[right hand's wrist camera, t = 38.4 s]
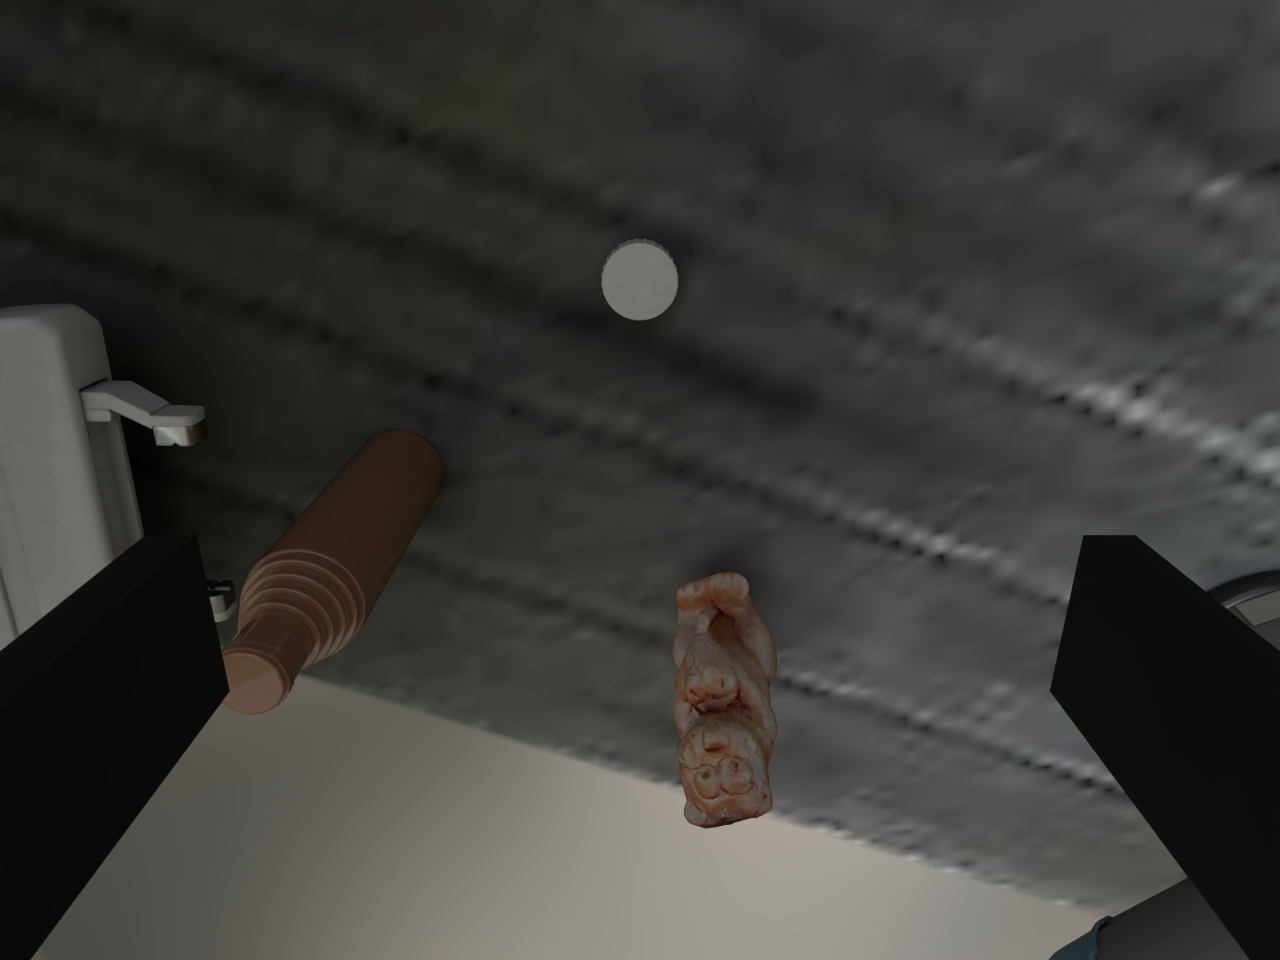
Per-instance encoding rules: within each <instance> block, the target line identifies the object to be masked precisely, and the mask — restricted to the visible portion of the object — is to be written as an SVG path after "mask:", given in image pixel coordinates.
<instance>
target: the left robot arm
mask: <svg viewBox="0 0 1280 960" xmlns="http://www.w3.org/2000/svg"><path fill="white" fill-rule="evenodd" d="M121 415H123V416H125V417H127V418H129V419H132V420H134V421H136V422H138V423H140V424H142V425H144V426H146V427H149V428H151V429H153V432H154V436H155V441H156V445H160V446H171V445H173V444H174V443H176V444H178V445H179V446H192V445H196V444H198V443H200V442H201V441H202V439H206V438H207V437H208V430H207V423H206V416H205V410H204V407H202V406H190V405H170V403H169V402H168V401H166V400H164V399H162V398H161V397H159V396H157V395H155V394H154V393H152V392H150V391H148V390H147V389H145V388H143V387H141V386H140V385H138V384H136V383H134V382H132V381H113V380H112V375H111V371H110V366H109V361H108V356H107V351H106V346H105V341H104V336H103V331H102V327H101V324H100V322H99V321H98V320H97V319H96V318H95V317H93V316H92V315H90V314H89V313H88V312H86V311H85V310H83V309H81V308H80V307H78V306H77V305H74V304H36V305H24V306H14V307H7V308H1V309H0V651H1V650H2V649H3V648H5V647H6V646H7V645H8V644H10V643H11V642H12V641H13V640H15V639H16V638H17V637H18V636H20V635H21V634H22V633H23V632H25V631H26V630H27V629H28V628H30V627H31V626H32V625H33V624H35V623H36V622H37V621H38V620H40V619H41V618H42V617H43V616H45V615H46V614H47V613H48V612H50V611H51V610H52V609H53V608H55V607H56V606H57V605H58V604H60V603H61V602H62V601H63V600H65V599H66V598H67V597H68V596H70V595H71V594H72V593H73V592H75V591H76V590H77V589H78V588H80V587H81V586H82V585H83V584H85V583H86V582H87V581H88V580H90V579H91V578H92V577H93V576H95V575H96V574H97V573H98V572H100V571H101V570H102V569H103V568H105V567H106V566H107V565H108V564H110V563H111V562H112V561H113V560H115V559H116V558H117V557H118V556H120V555H121V554H122V553H123V552H125V551H126V550H127V549H128V548H130V547H131V546H132V545H133V544H135V543H136V542H137V541H138V540H140V539H141V538H142V537H143V536H145V535H144V531H143V526H142V521H141V516H140V511H139V506H138V501H137V497H136V492H135V487H134V482H133V477H132V472H131V468H130V463H129V458H128V453H127V448H126V443H125V438H124V434H123V429H122V424H121V419H120V416H121ZM206 582H207V586H208V591H209V595H210V600H211V605H212V609H213V614H214V619H215V622H221V621H224V620H227V619H228V618H229V617H230V616H231V615H232V614H233V613H234V612H235V610H236V609H237V602H236V596H235V590H234V585H233V582H232V581H229V580H223V581H222V582H220V583H219V582H217V581H216V580H206Z"/></svg>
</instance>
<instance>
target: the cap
mask: <svg viewBox="0 0 1280 960" xmlns="http://www.w3.org/2000/svg"><path fill="white" fill-rule="evenodd" d="M603 268H604V270H603V271H602V274H601V277H602V283H601V286H602V289H603V294H604V296H605V298H606V300H607V302H608V303H609V305H610V306H611V307H612V309H613V310H615V311H616V312H617V313H618V314H620V315H622V316H624V317H626V318H629V319H633V320H647V319H651V318H654V317H656V316H658V315H660V314H661V313H663V312H664V311H665V310H666V309H667V308H668V307H669V306H670V305H671V303H672V302H673V300H674V298H675V295H676V292H677V288H678V286H679V285H678V278H679V276H678V273H677V271H676V270H677V266H676V264H674V260H673V257H671V256H670V254H669V253H668V250H665V249H664V248H663V247H662V245H661V244H660V245H659V244H657V243H655V242H654V240H652V241H650V240H646V238H644V239H637V238H635V239H634V240H630V241H629V240H627V242H625V243H623V244H621V243H620V244H619V246H618V247H617V248H616V249H613V250H612V253H611V254H610V256H609V255H608V256H607V261H606V263H604V266H603Z"/></svg>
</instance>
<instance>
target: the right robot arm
mask: <svg viewBox="0 0 1280 960" xmlns="http://www.w3.org/2000/svg"><path fill="white" fill-rule="evenodd" d="M229 692H230V688H229V684H228V679H227V674H226V670H225V665H224V661H223V656H222V651H221V647H220V642H219V637H218V633H217V628H216V623H215V619H214V614H213V609H212V605H211V600H210V595H209V591H208V586H207V582H206V577H205V572H204V568H203V563H202V558H201V554H200V549H199V544H198V540H197V535H145V536H143V537H142V538H141V539H140V540H138V541H137V542H136V543H135V544H133V545H132V546H131V547H130V548H128V549H127V550H126V551H125V552H123V553H122V554H121V555H120V556H118V557H117V558H116V559H115V560H113V561H112V562H111V563H110V564H108V565H107V566H106V567H105V568H103V569H102V570H101V571H100V572H98V573H97V574H96V575H95V576H93V577H92V578H91V579H90V580H88V581H87V582H86V583H85V584H83V585H82V586H81V587H80V588H78V589H77V590H76V591H75V592H73V593H72V594H71V595H70V596H68V597H67V598H66V599H65V600H63V601H62V602H61V603H60V604H58V605H57V606H56V607H55V608H53V609H52V610H51V611H50V612H48V613H47V614H46V615H45V616H43V617H42V618H41V619H40V620H38V621H37V622H36V623H35V624H33V625H32V626H31V627H30V628H28V629H27V630H26V631H25V632H23V633H22V634H21V635H20V636H18V637H17V638H16V639H15V640H13V641H12V642H11V643H10V644H8V645H7V646H6V647H5V648H3V649H2V650H1V651H0V960H31V958H32V957H33V956H34V954H35V953H36V952H37V950H38V949H39V947H40V946H41V945H42V943H43V942H44V941H45V939H46V938H47V937H48V935H49V934H50V933H51V931H52V930H53V928H54V927H55V926H56V925H57V923H58V922H59V921H60V919H61V918H62V916H63V915H64V914H65V912H66V911H67V910H68V908H69V907H70V906H71V904H72V903H73V902H74V900H75V899H76V898H77V896H78V895H79V894H80V892H81V891H82V890H83V888H84V887H85V886H86V884H87V883H88V882H89V880H90V879H91V877H92V876H93V875H94V873H95V872H96V871H97V869H98V868H99V867H100V865H101V864H102V863H103V861H104V860H105V859H106V857H107V856H108V855H109V853H110V852H111V851H112V849H113V848H114V847H115V845H116V844H117V842H118V841H119V840H120V838H121V837H122V836H123V834H124V833H125V832H126V830H127V829H128V828H129V826H130V825H131V824H132V822H133V821H134V820H135V818H136V817H137V816H138V814H139V813H140V812H141V810H142V809H143V807H144V806H145V805H146V803H147V802H148V801H149V799H150V798H151V797H152V795H153V794H154V793H155V791H156V790H157V789H158V787H159V786H160V785H161V783H162V782H163V781H164V779H165V778H166V776H167V775H168V774H169V772H170V771H171V770H172V768H173V767H174V766H175V764H176V763H177V762H178V760H179V759H180V758H181V756H182V755H183V754H184V752H185V751H186V750H187V748H188V747H189V745H190V744H191V743H192V741H193V740H194V739H195V737H196V736H197V735H198V733H199V732H200V731H201V729H202V728H203V727H204V725H205V724H206V723H207V721H208V720H209V719H210V717H211V716H212V715H213V713H214V712H215V710H216V709H217V708H218V706H219V705H220V704H221V702H222V701H223V700H224V698H225V697H226V696H227V694H228V693H229ZM1050 692H1051V693H1052V694H1053V696H1054V697H1055V698H1056V700H1057V701H1058V702H1059V704H1060V705H1061V706H1062V708H1063V709H1064V711H1065V712H1066V713H1067V715H1068V716H1069V717H1070V719H1071V720H1072V721H1073V723H1074V724H1075V725H1076V727H1077V728H1078V729H1079V731H1080V732H1081V733H1082V735H1083V736H1084V737H1085V739H1086V740H1087V741H1088V743H1089V744H1090V746H1091V747H1092V748H1093V750H1094V751H1095V752H1096V754H1097V755H1098V756H1099V758H1100V759H1101V760H1102V762H1103V763H1104V764H1105V766H1106V767H1107V768H1108V770H1109V771H1110V772H1111V774H1112V775H1113V776H1114V778H1115V779H1116V781H1117V782H1118V783H1119V785H1120V786H1121V787H1122V789H1123V790H1124V791H1125V793H1126V794H1127V795H1128V797H1129V798H1130V799H1131V801H1132V802H1133V803H1134V805H1135V806H1136V807H1137V809H1138V810H1139V812H1140V813H1141V814H1142V816H1143V817H1144V818H1145V820H1146V821H1147V822H1148V824H1149V825H1150V826H1151V828H1152V829H1153V830H1154V832H1155V833H1156V834H1157V836H1158V837H1159V838H1160V840H1161V841H1162V842H1163V844H1164V845H1165V847H1166V848H1167V849H1168V851H1169V852H1170V853H1171V855H1172V856H1173V857H1174V859H1175V860H1176V861H1177V863H1178V864H1179V865H1180V867H1181V868H1182V869H1183V871H1184V872H1185V873H1186V875H1187V876H1188V877H1189V878H1187V879H1185V880H1183V881H1181V882H1179V883H1177V884H1175V885H1173V886H1171V887H1170V888H1168V889H1166V890H1164V891H1162V892H1160V893H1158V894H1156V895H1154V896H1153V897H1151V898H1149V899H1147V900H1145V901H1143V902H1141V903H1139V904H1137V905H1136V906H1134V907H1132V908H1130V909H1128V910H1126V911H1124V912H1122V913H1120V914H1118V915H1117V916H1115V917H1111V916H1106V917H1104V918H1102V919H1100V920H1099V921H1098V922H1096V923H1095V925H1094V926H1093V928H1092V930H1091V931H1090V932H1088V933H1086V934H1085V935H1083V936H1081V937H1080V938H1078V939H1076V940H1075V941H1073V942H1071V943H1070V944H1068V945H1066V946H1065V947H1063V948H1061V949H1060V950H1058V951H1057V952H1055V953H1054V954H1053V955H1052V956H1051V957H1050V959H1049V960H1280V571H1271V572H1265V573H1259V574H1255V575H1251V576H1247V577H1244V578H1241V579H1238V580H1235V581H1232V582H1230V583H1227V584H1225V585H1222V586H1220V587H1218V588H1216V589H1214V590H1212V591H1210V592H1208V593H1207V592H1205V591H1204V590H1203V589H1202V588H1200V587H1199V586H1198V585H1197V584H1195V583H1194V582H1193V581H1192V580H1190V579H1189V578H1188V577H1187V576H1185V575H1184V574H1183V573H1182V572H1180V571H1179V570H1178V569H1177V568H1175V567H1174V566H1173V565H1172V564H1170V563H1169V562H1168V561H1167V560H1165V559H1164V558H1163V557H1162V556H1160V555H1159V554H1158V553H1157V552H1155V551H1154V550H1153V549H1152V548H1150V547H1149V546H1148V545H1147V544H1145V543H1144V542H1143V541H1142V540H1140V539H1139V538H1138V537H1137V536H1135V535H1083V540H1082V544H1081V549H1080V554H1079V558H1078V563H1077V568H1076V572H1075V577H1074V582H1073V586H1072V591H1071V595H1070V600H1069V605H1068V609H1067V614H1066V619H1065V623H1064V628H1063V633H1062V637H1061V642H1060V647H1059V651H1058V656H1057V661H1056V665H1055V670H1054V674H1053V679H1052V684H1051V688H1050Z"/></svg>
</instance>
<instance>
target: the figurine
mask: <svg viewBox="0 0 1280 960" xmlns="http://www.w3.org/2000/svg"><path fill="white" fill-rule="evenodd" d="M748 593H749V584H748V582H747V580H746V578H744V577H743V576H741V575H740V574H739V573H736V572H725V573H717V574H714V575H711V576H708V577H704V578H701V579H698V580H694V581H691V582H688V583H685V584H683V585H682V586H681V587H680V588H679V589H678V591H677V592H676V602H677V610H678V620H677V623H678V631H677V633H676V635H675V638H674V642H673V658H674V661H675V664H676V667H677V670H678V671H677V673H676V681H675V692H674V719H675V723H676V726H677V729H678V732H679V735H680V737H681V741H680V742H679V745H678V760H679V772H680V777H681V781H682V784H683V788H684V791H685V795H686V799H687V801H686V804H685V808H684V816H685V818H686V819H687V821H688V822H689V823H691V824H693V825H696V826H699V827H703V828H713V827H719V826H723V825H730V824H733V823H735V822H739V821H742V820H745V819H749V818H757V817H759V816H761V815H763V814H765V813H767V812H769V811H770V810H771V808H772V803H773V799H772V793H771V790H770V787H769V774H768V769H767V767H768V763H769V761H770V758H771V754H772V750H773V745H774V740H775V739H776V735H777V723H776V717H775V714H774V711H773V709H772V707H771V701H770V694H769V685H770V683H771V682H772V680H773V679H774V677H775V675H776V670H777V655H776V649H775V644H774V641H773V638H772V635H771V633H770V630H769V628H768V626H767V625H766V623H764V621H763V620H762V619H761V617H760V616H759V614H758V612H757V611H756V609H755V607H754V606H753V604H752V603H751V596H750V595H749V594H748Z"/></svg>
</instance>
